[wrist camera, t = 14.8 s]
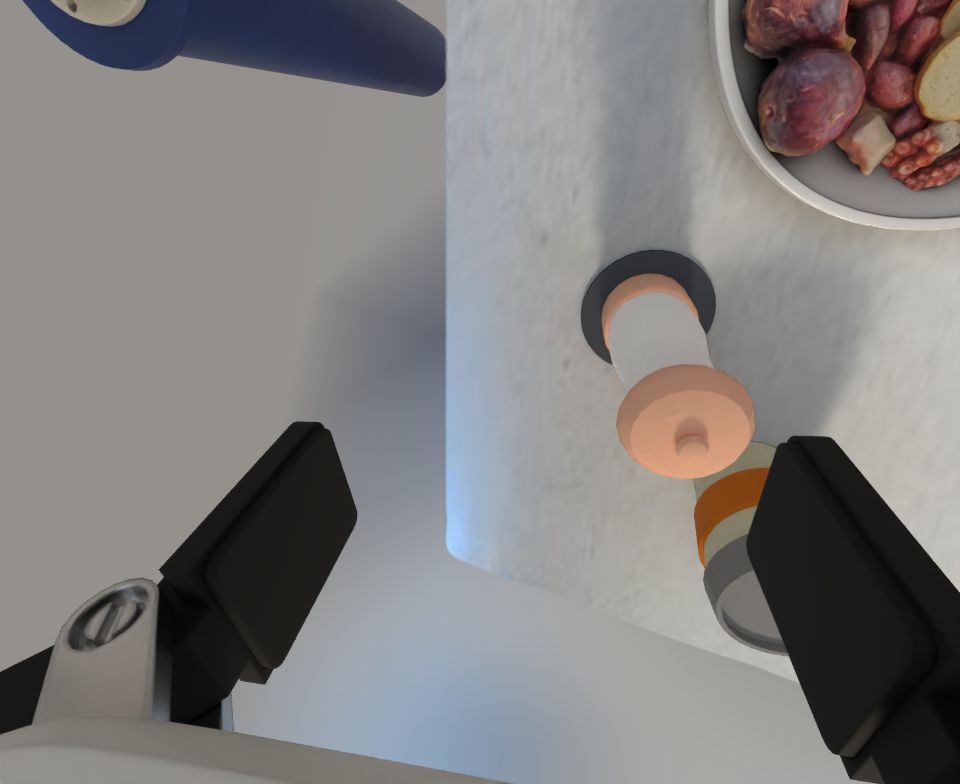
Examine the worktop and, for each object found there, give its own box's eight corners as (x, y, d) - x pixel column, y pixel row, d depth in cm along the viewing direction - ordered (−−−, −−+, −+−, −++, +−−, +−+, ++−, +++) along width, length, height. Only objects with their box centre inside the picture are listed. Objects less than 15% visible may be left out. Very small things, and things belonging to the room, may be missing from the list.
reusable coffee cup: (685, 423, 43) (730, 546, 31) (830, 429, 41) (943, 566, 28) (667, 513, 50) (698, 646, 37) (791, 523, 47) (869, 669, 34)
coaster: (579, 368, 42) (580, 370, 42) (582, 253, 37) (582, 254, 36) (703, 369, 40) (704, 371, 40) (725, 246, 34) (727, 247, 34)
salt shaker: (592, 343, 40) (601, 489, 24) (615, 265, 36) (644, 378, 20) (672, 359, 40) (736, 519, 24) (704, 281, 36) (807, 411, 20)
